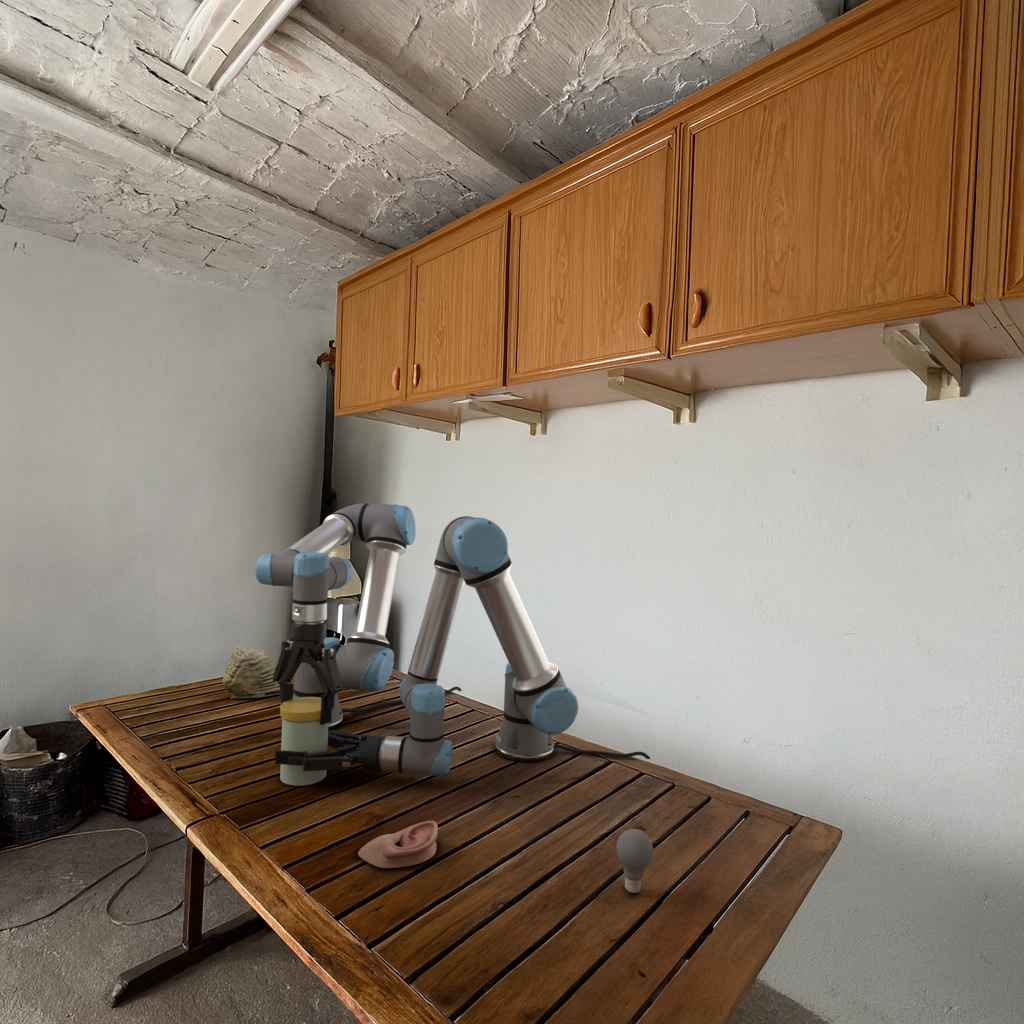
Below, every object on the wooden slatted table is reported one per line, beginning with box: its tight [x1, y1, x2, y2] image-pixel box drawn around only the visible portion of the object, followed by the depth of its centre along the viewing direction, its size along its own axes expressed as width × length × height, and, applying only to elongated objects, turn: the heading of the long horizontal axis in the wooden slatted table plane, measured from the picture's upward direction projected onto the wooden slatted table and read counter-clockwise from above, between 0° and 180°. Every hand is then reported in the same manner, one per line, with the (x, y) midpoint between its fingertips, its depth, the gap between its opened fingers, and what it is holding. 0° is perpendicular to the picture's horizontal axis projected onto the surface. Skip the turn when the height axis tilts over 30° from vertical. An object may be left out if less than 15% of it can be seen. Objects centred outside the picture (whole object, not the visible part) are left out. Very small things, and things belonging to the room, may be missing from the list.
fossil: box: [222, 646, 280, 699], centre depth 198 cm, size 9×18×15 cm, turn 132°
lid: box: [279, 697, 321, 722], centre depth 143 cm, size 11×11×2 cm
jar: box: [279, 717, 329, 787], centre depth 143 cm, size 10×10×16 cm
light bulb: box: [615, 828, 654, 894], centre depth 106 cm, size 6×6×10 cm
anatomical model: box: [357, 820, 439, 869], centre depth 114 cm, size 13×4×12 cm
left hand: (305, 718), depth 143 cm, fingers closed on lid, 11 cm apart
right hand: (286, 747), depth 143 cm, fingers closed on jar, 10 cm apart
